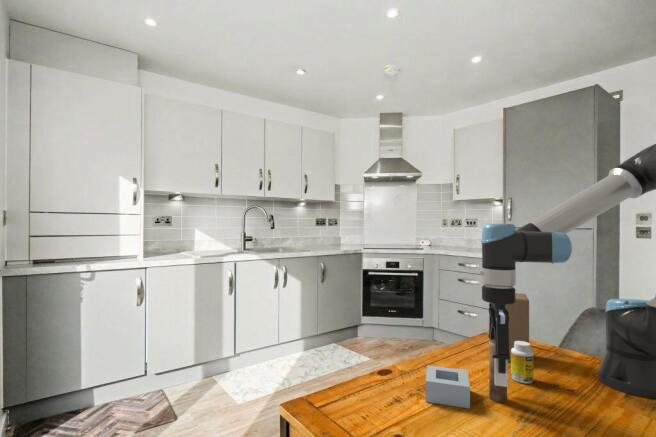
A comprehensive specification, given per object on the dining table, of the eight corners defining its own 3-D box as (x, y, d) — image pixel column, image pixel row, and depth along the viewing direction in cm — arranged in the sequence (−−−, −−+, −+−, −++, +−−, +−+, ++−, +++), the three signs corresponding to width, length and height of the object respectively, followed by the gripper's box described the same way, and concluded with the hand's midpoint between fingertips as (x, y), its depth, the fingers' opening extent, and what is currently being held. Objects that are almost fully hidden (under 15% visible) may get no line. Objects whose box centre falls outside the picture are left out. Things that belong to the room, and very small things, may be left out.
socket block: (466, 389, 93) (467, 370, 93) (469, 408, 83) (469, 387, 83) (427, 383, 96) (427, 365, 96) (425, 401, 86) (425, 380, 86)
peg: (505, 396, 89) (506, 340, 89) (508, 404, 85) (508, 346, 85) (488, 394, 90) (488, 338, 90) (490, 401, 86) (490, 344, 86)
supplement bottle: (527, 386, 95) (527, 347, 95) (506, 378, 99) (506, 341, 99) (537, 381, 98) (537, 344, 98) (517, 374, 102) (517, 338, 102)
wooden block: (526, 354, 118) (526, 293, 118) (529, 364, 109) (529, 299, 109) (493, 349, 122) (493, 291, 123) (493, 359, 113) (493, 296, 113)
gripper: (477, 278, 99) (477, 360, 99) (487, 292, 79) (486, 394, 79) (507, 280, 97) (507, 363, 97) (524, 294, 77) (524, 400, 76)
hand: (498, 377), depth 88 cm, fingers open, 8 cm apart
